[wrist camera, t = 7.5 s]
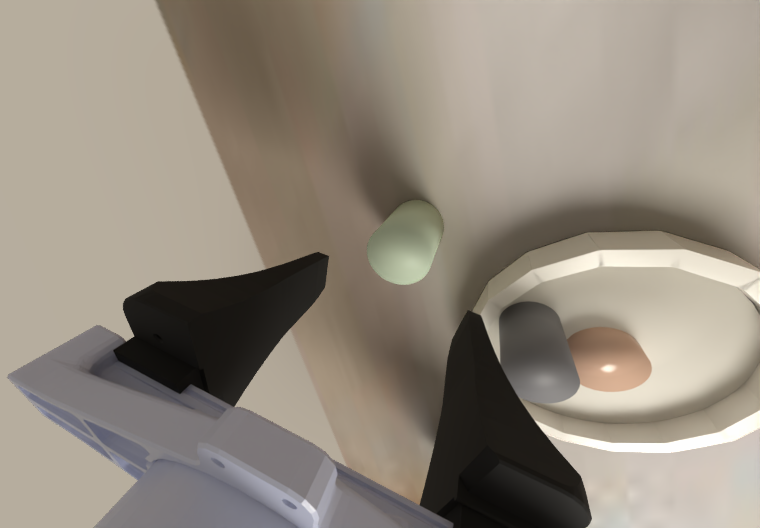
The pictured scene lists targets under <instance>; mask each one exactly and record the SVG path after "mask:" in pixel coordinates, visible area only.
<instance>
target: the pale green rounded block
mask: <svg viewBox="0 0 760 528" xmlns="http://www.w3.org/2000/svg"><path fill="white" fill-rule="evenodd" d="M443 231H444V223H443V219H442V216H441V214H440V213H439V211H438V210H437V209H436V208H435V207H434V206H433V205H431V204H429V203H428V202H425V201H421V200H410V201H407V202H404V203H403V204H401V205H400V206H398V208H397V209H396V210H395V211H394V212H393V213H392V214H391V215H390V216H389V217H388V218H387V219H386V220H385V222H384V223H383V224H382V225H381V226H380V227H379V228H378V229H377V230H376V231H375V232H374V233H373V235H372V236H371V237H370V239H369V242H368V245H367V256H368V260H369V262H370V265H371V266H372V268H373V269H374V271H375V272H376V273H377V274H378V275H379V276H380V277H382V278H383V279H385V280H387V281H389V282H391V283H394V284H399V285H408V284H413V283H416V282H418V281H420V280H421V279H422V278H424V277H425V276H426V274H427V273H428V271H429V269H430V267H431V264H432V261H433V259H434V256H435V253H436V251H437V248H438V245H439V243H440V240H441V237H442V235H443Z"/></svg>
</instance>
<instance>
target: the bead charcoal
mask: <svg viewBox="0 0 760 528" xmlns="http://www.w3.org/2000/svg"><path fill="white" fill-rule="evenodd" d="M499 342H500V364H501V366H502V368H503V371H504V373H505V375H506V376H507V378H508V380H509V382H510V384H511V385H512V387H513V389H514V390H515V392H516V394H517V395H518V397H519V398H522V399H524V400H527V401H530V402H535V403H544V404H548V403H558V402H562V401H565V400H567V399H569V398H571V397H572V396H574V395H575V394H576V393H577V391H578V389H579V387H580V379H579V375H578V372H577V369H576V366H575V363H574V360H573V357H572V354H571V351H570V348H569V345H568V342H567V339H566V336H565V333H564V330H563V327H562V324H561V321H560V318H559V316H558V314H557V313H556V312H555V311H554V310H553V309H552V308H550V307H549V306H547V305H544V304H542V303H538V302H531V301H526V302H519V303H515V304H513V305H510V306H509V307H507V308H506V309H505V310H504V311H503V312H502V313H501V315H500V317H499Z"/></svg>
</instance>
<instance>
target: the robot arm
mask: <svg viewBox="0 0 760 528" xmlns="http://www.w3.org/2000/svg"><path fill="white" fill-rule="evenodd" d="M328 259H329V256H327V255H325V254H322V253H320V252H317V253H313V254H310V255H308V256H305V257H302V258H299V259H297V260H294V261H291V262H288V263H285V264H282V265H279V266H275V267H272V268H269V269H265V270H262V271H258V272H254V273H249V274H244V275H239V276H234V277H226V278H219V279H210V280H198V281H172V282H171V281H167V282H156V283H154V284H152V285H150V286H149V287H147V288H145V289H143V290H141V291H139V292H137V293H136V294H133V295H132V296H130V297H128V298H126V299H125V301H124V303H123V310H124V313H125V316H126V318H127V321H128V323H129V325H130V327H131V330H132V332H133V334H134V337H133V338H131V339H130V340H128V341H127V342H126V341H125V340H124V339H123V338H122V337H121V336H119V335H118V334H116V333H114V332H112V331H110V330H108V329H106V328H104V327H102V326H100V325H96V326H94V327H93V328H91V329H89V330H87V331H85V332H84V333H82V334H80V335H78V336H77V337H75V338H73V339H71V340H70V341H68V342H66V343H64V344H62V345H60V346H59V347H57V348H55V349H53V350H51V351H50V352H48V353H46V354H44V355H42V356H41V357H39V358H37V359H35V360H33V361H32V362H30V363H28V364H26V365H24V366H23V367H21V368H19V369H17V370H16V371H14V372H12V373H10V374H9V375H8V379H9V380H10V381H11V382H12V383H13V384H14V385H15V386H16V387H17V388H18V389H19V390H20V392H21V393H23V395H24V396H26V398H27V399H28V400H29V401H30V402H31V403H32V404H33V405H34V406H35V407H36V408H37V409H38V410H39V411H40V412H41V413H42V414H43V415H44V416H45V417H46V418H48V419H49V420H51V421H52V422H54V423H56V424H57V425H59V426H60V427H62V428H63V429H65V430H66V431H68V432H69V433H71V434H72V435H74V436H75V437H77V438H78V439H80V440H81V441H83V442H84V443H86V444H87V445H89V446H90V447H91V448H93V449H94V450H96V451H97V452H98V453H100V454H101V455H103V456H104V457H106V458H107V459H109V460H110V461H111V462H113V463H114V464H116V465H117V466H118V467H120V468H121V469H122V470H124V471H125V472H127V473H128V474H130V475H131V476H132V477H134V478H135V479H137V480H138V481H137V482H136V483H135V484H134V485H133V486H132V487H131V488H130V490H128V492H127V493H126V494H125V495H124V496H123V497H122V498H121V499H120V500H119V501H118V502H117V503H116V504H115V505H114V506H113V508H112V509H111V510H110V511H109V512H108V513H107V514H106V515H105V516H104V517H103V518H102V519H101V520H100V521H99V522H98V523H97V525H96V526H95V527H94V528H586V527H587V526H588V525H589V524H590V522H591V519H592V517H591V513H590V509H589V504H588V500H587V495H586V491H585V488H584V485H583V481H582V478H581V476H580V475H579V474H578V473H577V471H576V470H575V469H574V468H573V467H572V466H571V465H570V463H569V462H568V461H567V460H566V459H565V458H564V457H563V456H562V454H561V453H560V452H559V451H558V450H557V449H556V447H555V446H554V445H553V444H552V443H551V441H550V440H549V439H548V437H547V436H546V435H545V434H544V432H543V431H542V430H541V429H540V427H539V426H538V425H537V423H536V422H535V420H534V419H533V418H532V416H531V415H530V413H529V412H528V410H527V409H526V408H525V406H524V405H523V403H522V402H521V400H520V399H519V397H518V395H517V394H516V392H515V390H514V389H513V387H512V385H511V384H510V382H509V380H508V378H507V376H506V375H505V373H504V371H503V368H502V366H501V364H500V362H499V360H498V358H497V356H496V353H495V351H494V348H493V346H492V344H491V341H490V338H489V336H488V333H487V330H486V327H485V324H484V322H483V319H482V316H481V315H479V314H477V313H474V312H471V311H469V310H468V311H467V313H466V315H465V317H464V318H463V320H462V322H461V324H460V326H459V328H458V330H457V331H456V333H455V335H454V337H453V339H452V342H451V346H450V350H449V355H448V360H447V369H446V378H445V388H444V397H443V406H442V412H441V417H440V422H439V426H438V431H437V436H436V440H435V445H434V449H433V454H432V458H431V462H430V466H429V470H428V474H427V479H426V483H425V487H424V490H423V494H422V498H421V502H420V505H418V504H416V503H414V502H412V501H410V500H408V499H407V498H405V497H403V496H401V495H399V494H397V493H395V492H393V491H391V490H390V489H388V488H386V487H384V486H382V485H380V484H378V483H376V482H374V481H373V480H371V479H369V478H367V477H365V476H363V475H361V474H359V473H357V472H356V471H354V470H352V469H350V468H348V467H346V466H344V465H342V464H341V463H339V462H336V461H335V460H333V459H331V458H330V456H329V455H328V454H327V453H326V452H325V451H323V450H322V449H320V448H319V447H317V446H316V445H315V444H313V443H311V442H309V441H307V440H305V439H304V438H302V437H300V436H298V435H296V434H294V433H292V432H290V431H288V430H287V429H284V428H283V427H281V426H279V425H277V424H275V423H273V422H271V421H269V420H268V419H266V418H264V417H262V416H260V415H258V414H256V413H254V412H252V411H250V410H247V409H245V408H241V407H234V406H235V405H236V403H237V402H238V400H239V398H240V397H241V395H242V394H243V392H244V391H245V389H246V388H247V386H248V385H249V383H250V382H251V380H252V379H253V377H254V376H255V374H256V373H257V371H258V370H259V368H260V367H261V365H262V364H263V363H264V361H265V360H266V358H267V357H268V356H269V354H270V353H271V352H272V350H273V349H274V347H275V346H276V345H277V344H278V342H279V341H280V339H281V338H282V337H283V336H284V335H285V334H286V332H287V331H288V330H289V329H290V328H291V327H292V326H293V325H294V324H295V323H296V322H297V321H298V320H299V318H300V317H301V316H302V315H303V314H304V313H305V312H306V311H307V310H308V309H309V308H310V307H311V306H312V304H313V303H314V302H315V301H316V299H317V298H318V297H319V295H320V294H321V292H322V291H323V289H324V288H325V283H326V275H327V267H328Z"/></svg>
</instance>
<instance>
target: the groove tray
mask: <svg viewBox="0 0 760 528" xmlns="http://www.w3.org/2000/svg"><path fill="white" fill-rule="evenodd" d="M526 301H531V302H538V303H542V304H544V305H547V306H549V307H550V308H552V309H553V310H554V311H555V312H556V313H557V314H558V316H559V318H560V321H561V324H562V327H563V330H564V333H565V336H566V339H567V342H568V345H569V348H570V351H571V354H572V357H573V360H574V363H575V366H576V369H577V372H578V375H579V379H580V387H579V389H578V391H577V393H576V394H575V395H574V396H572V397H571V398H569V399H567V400H565V401H562V402H558V403H548V404H544V403H535V402H530V401H527V400H524V399H522V398H519V399H520V400H521V402H522V403H523V405H524V406H525V408H526V409H527V410H528V412H529V413H530V415H531V416H532V418H533V419H534V420H535V422H536V423H537V425H538V426H539V427H540V429H541V430H542V431H543V432H544V433H545V434H547V435H550V436H552V437H554V438H556V439H559V440H562V441H566V442H571V443H576V444H580V445H585V446H590V447H594V448H599V449H604V450H608V451H618V452H667V453H672V452H678V451H683V450H688V449H694V448H699V447H704V446H710V445H715V444H720V443H725V442H731V441H735V440H737V439H739V438H741V437H743V436H745V435H747V434H749V433H751V432H753V431H755V430H757V429H759V428H760V270H759V269H758V268H756V267H754V266H753V265H751V264H749V263H748V262H746V261H744V260H743V259H741V258H740V257H738V256H736V255H735V254H733V253H731V252H730V251H727V250H724V249H720V248H717V247H714V246H710V245H707V244H703V243H700V242H697V241H693V240H690V239H687V238H683V237H680V236H676V235H673V234H670V233H666V232H663V231H626V232H588V233H584V234H581V235H578V236H575V237H572V238H569V239H566V240H563V241H559V242H556V243H553V244H550V245H547V246H544V247H541V248H538V249H535V250H532V251H529V252H527V253H525V254H524V255H523V256H521V257H520V258H519V259H517V260H516V261H515V262H513V263H512V264H511V265H509V266H508V267H507V268H505V269H504V270H503V271H501V272H500V273H499V274H497V275H496V276H495V277H493V278H492V279H491V280H490V281H488V283H487V285H486V287H485V289H484V291H483V292H482V294H481V296H480V298H479V300H478V302H477V303H476V305H475V307H474V309H473V311H472V312H474V313H477V314H479V315H481V316H482V319H483V322H484V324H485V327H486V330H487V333H488V336H489V338H490V341H491V344H492V346H493V348H494V351H495V353H496V356H497V358H498V360H499V362H500V342H499V317H500V315H501V313H502V312H503V311H504V310H505V309H506V308H507V307H509V306H510V305H513V304H515V303H519V302H526Z"/></svg>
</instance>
